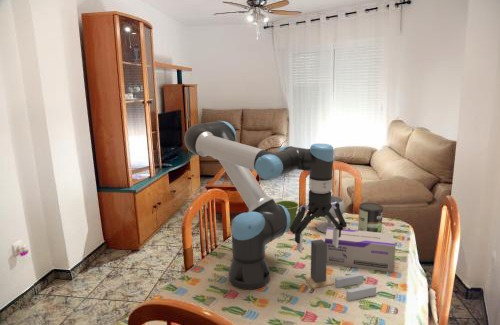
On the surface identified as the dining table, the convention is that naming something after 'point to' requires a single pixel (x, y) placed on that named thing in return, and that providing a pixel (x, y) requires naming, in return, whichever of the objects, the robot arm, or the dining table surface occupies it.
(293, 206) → the plant pot
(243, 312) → the dining table surface
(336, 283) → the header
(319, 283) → the pad
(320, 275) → the dark grey rectangular block
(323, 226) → the chalice
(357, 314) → the dining table surface
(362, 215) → the coffee can
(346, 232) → the surgical sutures box
